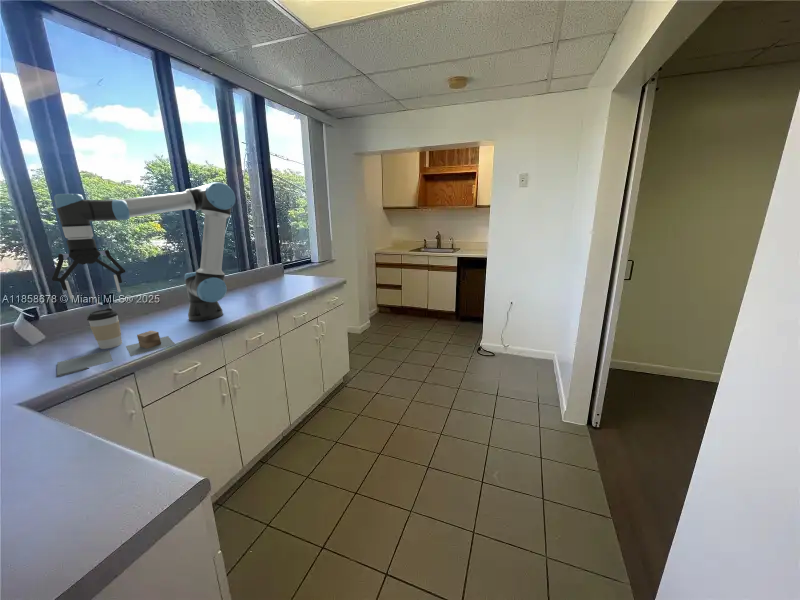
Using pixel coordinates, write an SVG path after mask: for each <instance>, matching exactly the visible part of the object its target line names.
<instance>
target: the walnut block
mask: <svg viewBox="0 0 800 600" xmlns="http://www.w3.org/2000/svg"><path fill="white" fill-rule="evenodd" d="M136 335H137V336H136V337H137V341H138V343H139V345H140V347H143V348H147V349H148V348H151V347H154V346H157V345H160V344H161V341H160V338H161V337H160V333H159V331H154V330H148V331H145V332H141V333H139V334H136Z"/></svg>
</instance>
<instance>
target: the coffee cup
mask: <svg viewBox="0 0 800 600" xmlns="http://www.w3.org/2000/svg"><path fill="white" fill-rule="evenodd" d="M118 315H119V313H118V312H117V311H115V310H114V309H113V308H110V307H109V308H108V307H107V308H106V309H101V310H99V309H98V310H96V311H95V310H94V311H92V312H90V313H89V315H87V321H88V323H89V327H90V330H91V332H92V334H93V336H94V339H95V341H96V342H97V345H98V347H99V349H102V350H104V349H112V348H116V347H118V346H120V345H122V344H123V340H122V332H121V325H120V320H119V316H118Z"/></svg>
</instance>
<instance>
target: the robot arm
mask: <svg viewBox="0 0 800 600" xmlns="http://www.w3.org/2000/svg"><path fill="white" fill-rule="evenodd" d="M53 200H54V204H55V208H56V211H57V214H58V218H59V221H60V224H61V227H62V232H63V235H64V237H65V238H66V244H67V248H68V251H69V252H68V253H61V252H60V253H58V255H57V256H58V261H57V263H56V267H55V269H54V272H53V275H52V277H51V280H52V281H53V282H59V283H60V285H61V289H62V291H67V293H68V297H69V300H74V296H73V293H72V290H71V287H70V284H69V281H68V280H67V278H68V277H69V276H70V275H71V273H72V272H73V270H75V268H77V266H78V265H87V264H95V263H97V264H99V265H101V266H102V267H104V268H106V269H107V270H108V271H110V272H112V273H113V278H114V282H115V286H116V290H117V292H118V293H121V292H122V290H121V287H120V284H121V283H122V282H123V279H122V276H121V275H122V274H124V273H126V269H124V268H123V267H122V265H121V264H119V263H118V261H117V260H115V258H113V256H112V254H111V253H110V251H109V250H108V249H103V250H98V248H97V244H96V240H95V238H93V237H94V232H93V227H92V226H91V223H90V222H103V221H104V222H109V221H127V220H130V218H134V217H141V216H142V217H143V216H147V215H155V214H163V213H169V212H170V213H171V212H176V211H183V210H184V211H185V210H189V209H190V210H192V211H201V212H202V213H203V214H204V221H203V222H204V223H203V234H202V243H201V244H202V245H201V256H200V267H199V268H198V269H196V270H195V271H193V272H187V273H184V283H185V286H186V287H185V288H186V292H187V297H188V302H189V306H188V314H187V317H188V320H189V321H192V322H199V321H200V322H201V321H207V320H212V319H216V318H219V317H221V316H222V315H223V314H224V313H223V308H222V306H221V305H220V303H219V301H221V300H222V299H223V298H224V297H226V294H227V291H228V290H227V289H228V287H227V285H226V283H225V278H226V273H225V272H224V271H223V270H222V269H223V268H222V267H223V260H224V259H223V257H224V256H223V255H224V247H225V237H226V236H225V235H226V226H227V219H228V218H229V217H231V215H232V214H231V212H232V208H233V207H234V206H235V204H236V195H235V192H234V190H233V189H232V188H231V187H230V186H229V185H228V184H225V183H223V182H219V181H213V182H210V183H207V184H203V185H200V186H197V187H193V188H187V189H185V190H184V191H180V192H172V193H163V194H162V193H161V194H155V195H147V196H146V195H145V196H139V197H137V196H136V197H129V198H128V197H127V198H121V199H120V198H119V199H85V198H84V196H83V194H79V193H56V194H55V195H54V196H53ZM101 255H102V256H103V257H107V259H108V260H109V261H110V262H111V263H112V264H113V265H114V266H115V267H116V268H117V269H118V270H117V269H115V268H114V267H112V266H110V265H109V264H107V263H106V262H104V261H103V260H101V259H100V258H99V257H100V256H101ZM68 258H70V259H71V260H73V261H72V262H71V264H70V265H69V267H68V268H67V269H66V270H65V272H64V273H63V274H62V275H61V276H60V275H59V274H60V273H61V270H62V267H63V265H64V261H65V260H67V259H68ZM59 276H60V277H59Z"/></svg>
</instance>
